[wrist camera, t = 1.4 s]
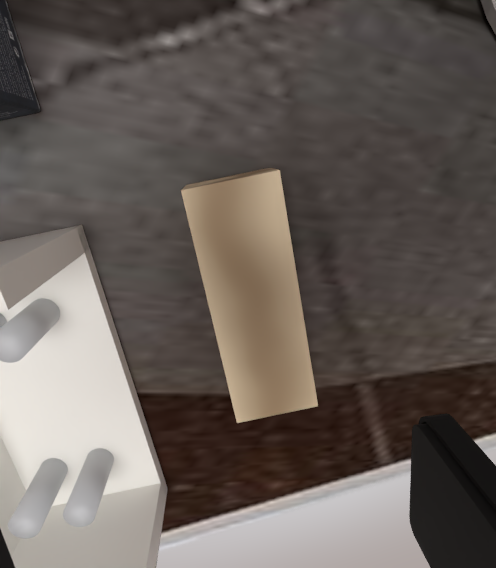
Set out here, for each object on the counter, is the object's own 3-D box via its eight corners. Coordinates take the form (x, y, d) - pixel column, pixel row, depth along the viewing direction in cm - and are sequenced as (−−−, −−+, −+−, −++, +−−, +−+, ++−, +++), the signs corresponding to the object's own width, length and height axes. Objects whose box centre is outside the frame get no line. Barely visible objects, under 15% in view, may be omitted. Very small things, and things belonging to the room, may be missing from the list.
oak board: (269, 167, 24) (279, 170, 20) (304, 372, 28) (317, 406, 24) (186, 184, 24) (180, 190, 20) (234, 386, 28) (237, 422, 24)
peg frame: (82, 224, 24) (-8, 271, 14) (167, 488, 30) (145, 642, 21) (-87, 259, 24) (-290, 329, 14) (34, 516, 30) (-51, 685, 20)
